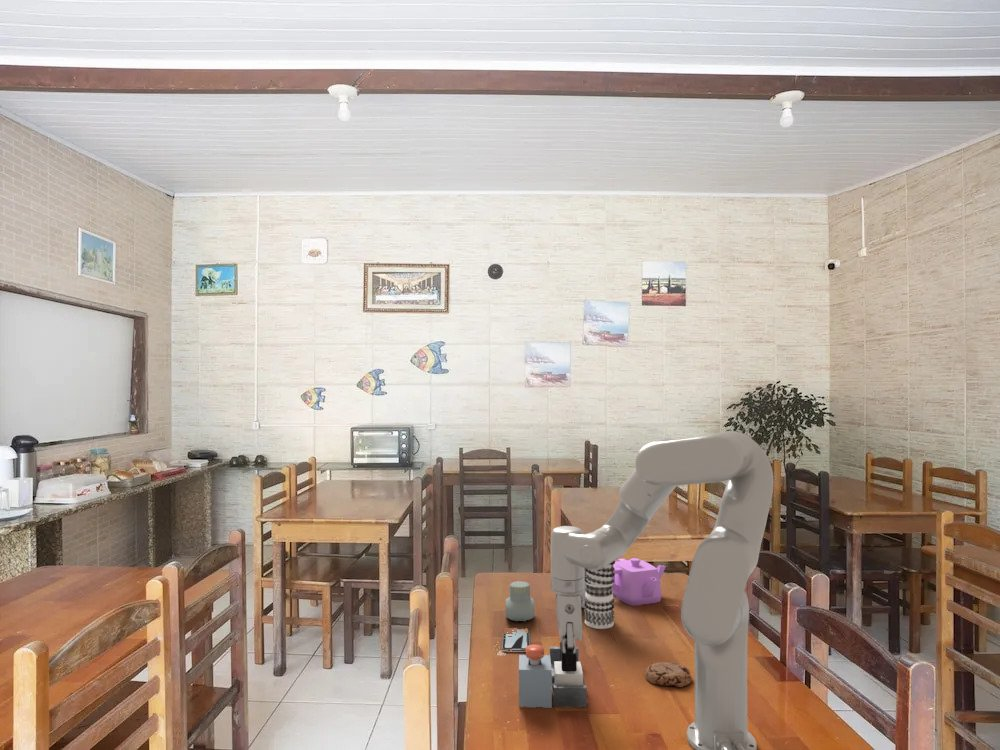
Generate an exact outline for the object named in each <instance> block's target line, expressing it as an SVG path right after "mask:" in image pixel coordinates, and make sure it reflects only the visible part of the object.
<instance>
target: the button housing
mask: <svg viewBox="0 0 1000 750" xmlns="http://www.w3.org/2000/svg"><path fill="white" fill-rule="evenodd" d="M552 699H553V691H552V670H551V660H550V654H548V655H547V654H544V657H543V658H541V659H539V665H530V659H529V658H527V657H526V654H518V707H519V706H527V707H526V708H536V707H543V708H544V709H545V708H546V709H547V708H548V709H549V708H550V709H552V707H553V706H552V705H553V700H552Z"/></svg>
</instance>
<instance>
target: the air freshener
mask: <svg viewBox="0 0 1000 750" xmlns="http://www.w3.org/2000/svg"><path fill="white" fill-rule="evenodd" d="M530 586H531V585H530V583H528V582H526V581H521V580H517V581H512V582H511V583H510V584H509V596H508V597H507V598H506V599H505V618H507V619H509V620H511V621H514V622H518V621H523V622H527V620H528V621H529V620H533V619H534V618H535V599H534V598H532V597H531V589H530V588H531V587H530Z"/></svg>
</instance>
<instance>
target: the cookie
mask: <svg viewBox="0 0 1000 750" xmlns="http://www.w3.org/2000/svg"><path fill="white" fill-rule="evenodd" d="M645 679H646V681H648V682H649V683H650V684H653V685H658V686H663V687H668V686H675V687H676V688H683V687H685V686H688V685H690V684H691V682H693V677H692V675H691V670H690V668H688V667H687V666H685V665H683V664H679V663H678V662H656V663H653V664H650V665H649V666H647V667H646V669H645Z"/></svg>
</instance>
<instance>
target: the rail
mask: <svg viewBox="0 0 1000 750" xmlns="http://www.w3.org/2000/svg"><path fill="white" fill-rule="evenodd" d="M549 655H550V660H551V670H552V675H554V661H561V659H560V646H549ZM576 657H577V662H579V646H576ZM587 690H588V689H587V685H586V684H585V685H554V693H553V688H552V699H553V700H552V702H553V707H555V706H557V707H562V708H564V707H565V708H568V707H569V708H570V707H571V708H572V707H573V708H587V706H588V705H587V704H588V701H587V700H588V699H587V696H588V695H587V692H588V691H587Z"/></svg>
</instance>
